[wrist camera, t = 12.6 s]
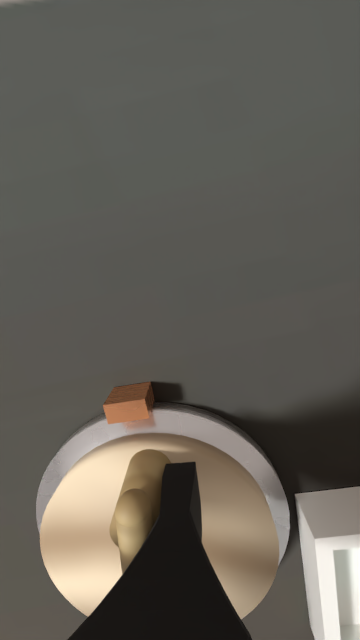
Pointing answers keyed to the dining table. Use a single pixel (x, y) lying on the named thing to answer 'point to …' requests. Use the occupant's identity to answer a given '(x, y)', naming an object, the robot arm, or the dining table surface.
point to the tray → (331, 560)
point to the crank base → (165, 417)
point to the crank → (155, 518)
